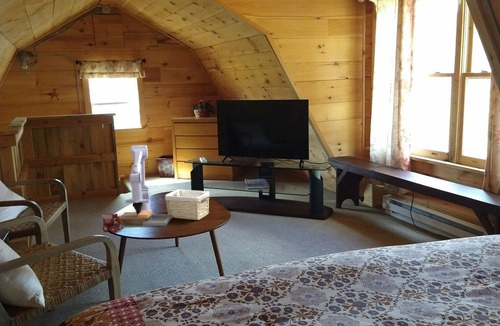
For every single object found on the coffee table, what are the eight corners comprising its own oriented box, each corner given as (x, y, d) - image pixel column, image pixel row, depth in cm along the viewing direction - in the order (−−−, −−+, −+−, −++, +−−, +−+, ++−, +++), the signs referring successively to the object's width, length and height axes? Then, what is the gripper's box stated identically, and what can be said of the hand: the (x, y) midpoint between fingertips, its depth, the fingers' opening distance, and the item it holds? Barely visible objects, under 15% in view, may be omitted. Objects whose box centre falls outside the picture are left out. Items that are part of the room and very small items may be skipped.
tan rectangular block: (142, 213, 265) (142, 210, 265) (152, 213, 265) (152, 210, 264) (137, 218, 256) (137, 214, 256) (147, 218, 256) (147, 214, 255)
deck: (125, 218, 270) (125, 212, 269) (150, 218, 268) (150, 212, 267) (117, 226, 256) (116, 219, 255) (143, 225, 255) (142, 219, 254)
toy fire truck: (119, 233, 243) (117, 215, 241) (100, 232, 246) (98, 214, 244) (126, 229, 250) (124, 212, 248) (107, 228, 253) (105, 211, 251)
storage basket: (165, 217, 269) (163, 194, 266) (179, 210, 283) (177, 188, 280) (198, 221, 259) (197, 197, 257) (211, 213, 274) (210, 191, 271)
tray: (151, 218, 269) (151, 214, 268) (172, 218, 267) (171, 214, 267) (143, 226, 254) (143, 222, 254) (165, 226, 253) (165, 222, 252)
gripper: (122, 194, 255) (124, 216, 258) (146, 194, 254) (148, 216, 256) (127, 191, 262) (128, 212, 265) (150, 191, 261) (152, 212, 263)
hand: (138, 214), depth 261 cm, fingers closed
